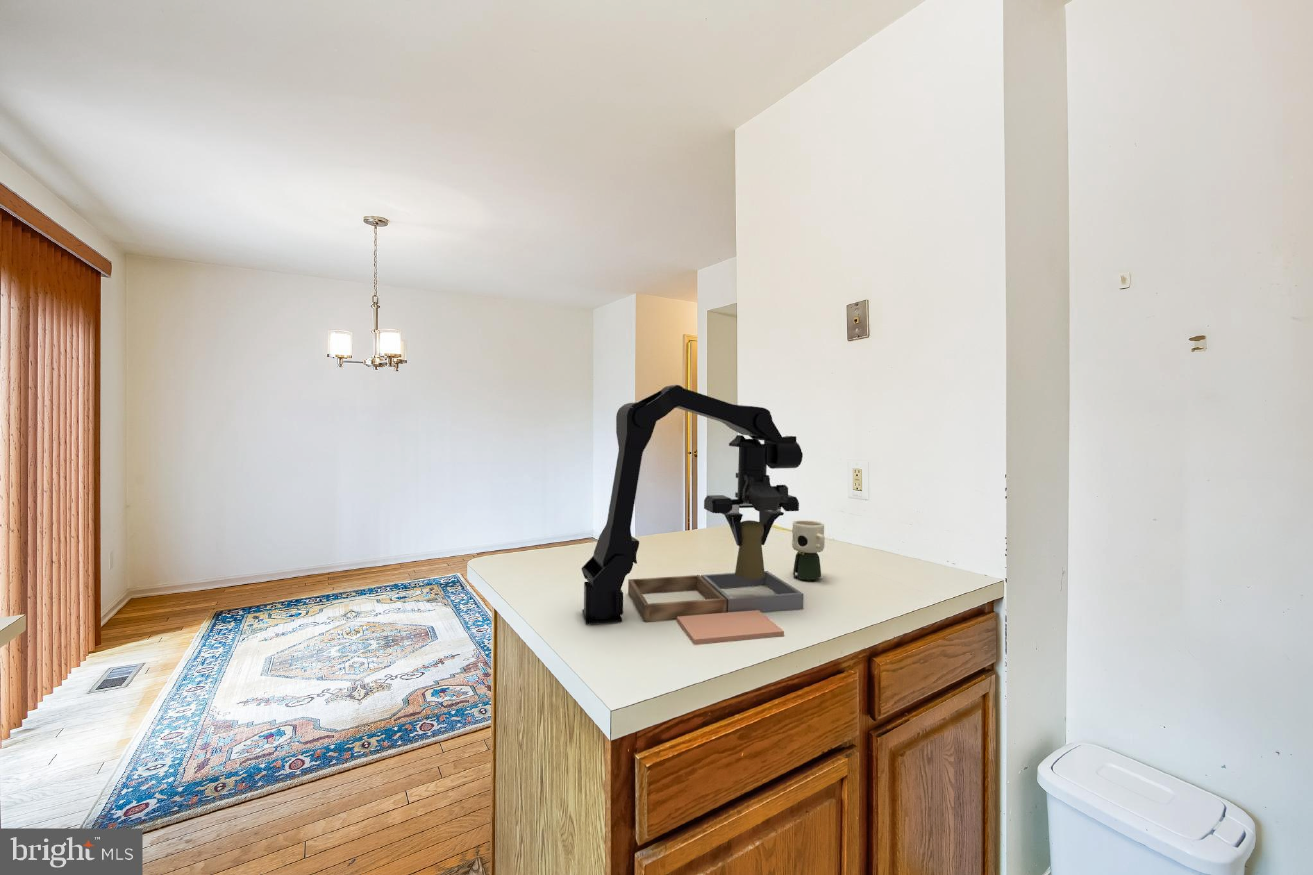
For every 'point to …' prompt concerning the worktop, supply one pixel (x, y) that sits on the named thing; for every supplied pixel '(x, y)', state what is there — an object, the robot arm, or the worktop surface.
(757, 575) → the cork
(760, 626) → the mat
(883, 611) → the worktop surface
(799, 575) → the character mug
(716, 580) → the charcoal bin
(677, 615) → the walnut bin
